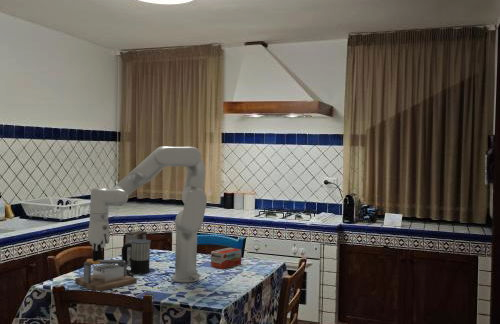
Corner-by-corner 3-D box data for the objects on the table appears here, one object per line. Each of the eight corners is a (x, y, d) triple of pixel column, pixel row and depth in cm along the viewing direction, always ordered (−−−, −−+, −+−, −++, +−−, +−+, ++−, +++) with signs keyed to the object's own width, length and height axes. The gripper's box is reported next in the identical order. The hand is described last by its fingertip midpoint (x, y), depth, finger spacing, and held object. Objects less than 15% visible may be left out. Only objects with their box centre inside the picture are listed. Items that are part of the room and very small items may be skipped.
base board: (136, 283, 215) (136, 278, 215) (97, 291, 201) (97, 287, 201) (113, 275, 227) (114, 270, 227) (75, 282, 213) (75, 278, 213)
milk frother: (150, 269, 240) (151, 238, 239) (149, 277, 224) (149, 245, 224) (120, 269, 238) (121, 238, 237) (116, 278, 222) (117, 245, 222)
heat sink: (130, 277, 217) (130, 258, 217) (92, 284, 203) (92, 265, 203) (117, 272, 224) (118, 254, 223) (79, 280, 210) (80, 260, 210)
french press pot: (139, 261, 255) (139, 230, 255) (146, 263, 251) (147, 231, 251) (124, 264, 248) (125, 232, 248) (132, 266, 244) (132, 234, 244)
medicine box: (229, 262, 260) (230, 246, 260) (241, 264, 255) (242, 249, 255) (210, 267, 248) (210, 251, 248) (222, 269, 243) (222, 253, 243)
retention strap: (119, 262, 222) (120, 259, 222) (126, 264, 218) (127, 261, 218) (86, 261, 210) (86, 258, 210) (93, 264, 206) (93, 261, 206)
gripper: (116, 218, 208) (114, 261, 208) (97, 214, 218) (95, 255, 218) (100, 219, 202) (98, 264, 203) (82, 215, 212) (79, 257, 213)
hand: (96, 259), depth 211 cm, fingers closed
